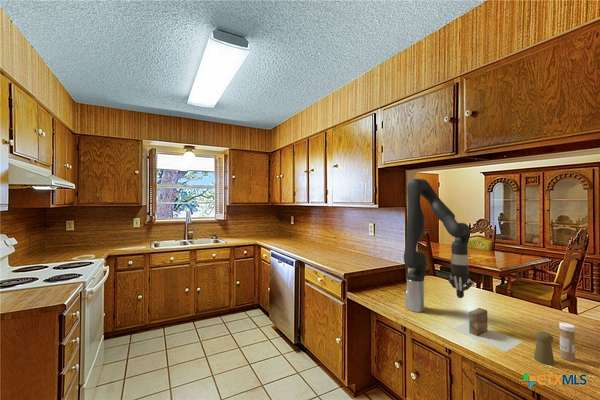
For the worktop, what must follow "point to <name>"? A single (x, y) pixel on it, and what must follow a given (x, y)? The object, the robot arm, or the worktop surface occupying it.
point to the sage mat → (490, 338)
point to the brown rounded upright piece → (544, 348)
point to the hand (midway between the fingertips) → (460, 297)
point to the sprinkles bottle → (567, 341)
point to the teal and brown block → (478, 321)
